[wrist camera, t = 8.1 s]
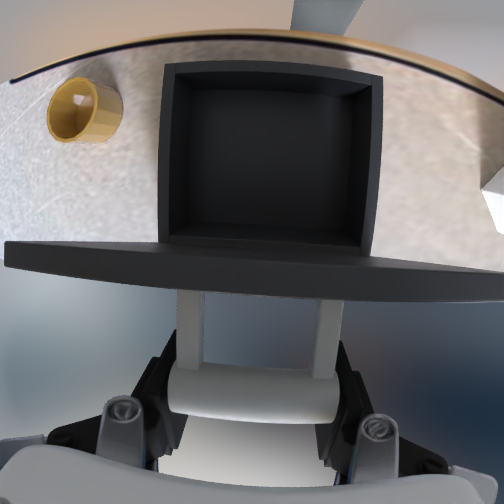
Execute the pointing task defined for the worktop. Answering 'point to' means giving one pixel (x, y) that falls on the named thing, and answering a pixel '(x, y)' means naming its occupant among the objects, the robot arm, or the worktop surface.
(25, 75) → the worktop surface
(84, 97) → the cup
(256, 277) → the lid
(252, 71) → the dark grey storage bin
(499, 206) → the milk
